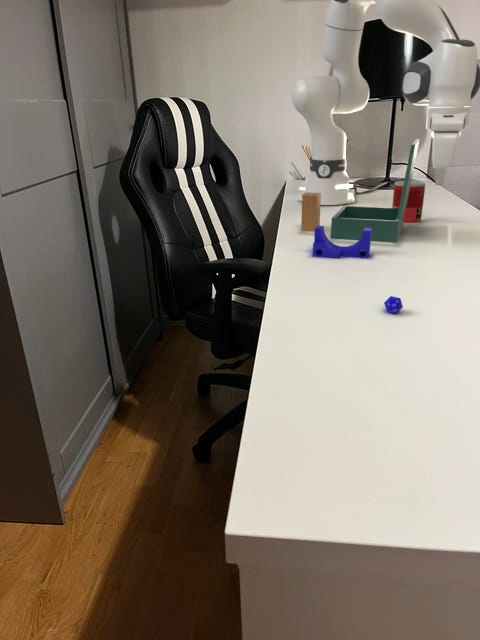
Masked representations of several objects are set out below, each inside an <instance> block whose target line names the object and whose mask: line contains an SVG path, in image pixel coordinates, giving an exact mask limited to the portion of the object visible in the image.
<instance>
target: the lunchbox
mask: <svg viewBox="0 0 480 640" xmlns="http://www.w3.org/2000/svg"><path fill="white" fill-rule="evenodd" d="M398 212H399V208H392V207H387V206H365V205H362V206H361V205H343V206H342V207H341V208H340V209H339V210H338V211H337V213H335V214H334V215H333V216H332V217H331V222H330V223H331V226H330V239H331V240H345V241H347V240H348V241H359V240H360V239H361V237H362V235H363V231H364V228H372V231H371V242H375V243H379V242H380V243H392V244H397V242H398V240H399V237H400V235H401V233H402V230H403V226H404V223H403V217H404V213H403V216H402V218H401V220H400V219H397V217H398Z"/></svg>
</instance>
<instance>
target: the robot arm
mask: <svg viewBox="0 0 480 640" xmlns="http://www.w3.org/2000/svg"><path fill="white" fill-rule="evenodd" d="M372 5H375V8H376V11H377V14H378V17H379V18H380V20H381V21H382V23H383V24H384V25H385V26H386V27H387V28H389V29H390V30H392V31H395V32H397V33H398V32H399V33H402V34H407V35H409V36H413V37H416V38H418V39H420V40H423V41H424V42H425V43H427V44H428V45H429V46H430V48H431V49H432V51H431V52H430V53H429V54H427V55H426V56H425V57H423V58H421V59H419V60H417V61H413V62H412V63H411V64H409V66H408V67H407V68H406V70H405V72H404V74H403V76H402V80H401V92H402V96H403V98H404V99H405V101H406V102H407V103H408V104H410V105H414V106H428V108H427V116H426V124H425V129H426V131H427V130H428V131H430V132H431V133H430V138H432V168H433V169H436V170H435V183H434V184H435V186H443V185H444V184H445V177H446V173H447V170H450V169H451V168H452V165H453V162H454V158H455V154H456V149H457V145H458V142H459V138H461V137H462V132H464V130H468V129H469V125H470V118H471V117H470V116H471V112H472V111H471V110H472V100H473V99H474V97H476V95H477V94H478V92H479V90H480V65H479V63H478V48H477V44H476V43H475V42H474V41H472V40H470V39H464V38H463V39H460V37H459V34H458V33H457V31H456V29H455V27H454V25H453V23H452V21H451V20H450V18H449V16H448V15H447V13H446V12H445V10H443V8H442V7H441V6H440V5H439V4H438V3H437V2H436V1H435V0H330V3H329V6H328V10H327V15H326V19H325V23H324V29H323V36H322V42H321V47H320V50H321V55H322V57H323V59H324V60H325V61H326V62H328V64H330V65H331V66H332V75H321V76H319V75H317V76H316V75H315V76H314V75H313V76H309V77H306V78H305V77H304V78H302V79H298V81H296V83H295V85H294V86H293V89H292V92H291V101H292V105H293V107H294V109H295V110H296V111H297V112H298V113H299V114H300V115H301V116H302V117H303V118H304V120H305V121H306V123H307V126H308V128H309V132H310V136H311V158H310V160H309V161H310V162H309V171H310V172H309V174H307V175H306V176H305V179H304V187H299V190H301V191H302V190H303V191H304V193H306V192H309V193H321V204H320V206H339V205H345V204H354V203H355V196H354V194H356V195H363V194H367V193H370V192H373V191H375V190H378V189H379V188H381V187H384V186H385V185H388V184H387V183H388V182H389V184H393V183H395V182H396V181H402V180H405V178H399V179H394V180H389V181H386V182H383V183H381V184H378V185H377V186H375V187H373V188H370V189H367V190H365V191H360V192H359V191H358V187H357V185H356V184H357V182H356V180H355V181H354V180H350V177H349V175H348V174H347V171H346V170H347V164H348V162H347V158H346V152H347V150H346V149H347V135H346V131H344V129H342V128H341V127H339V126H338V125H336V124H335V122H334V118H333V114H335V115H336V114H351V113H355V112H358V111H362V110H363V109H364V108H365V107H366V105H367V104H368V101H369V100H370V87H369V84H368V82H367V80H366V79H365V78H364V77H363V75H362V73H361V70H360V66H359V53H360V47H361V42H362V41H361V40H362V35H363V31H364V26H365V21H366V14H367V11H368V9H369V8H370V7H371V6H372ZM352 190H354V193H352ZM304 193H303V194H304ZM299 202H302V196H301V197H299Z"/></svg>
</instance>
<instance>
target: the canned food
mask: <svg viewBox="0 0 480 640" xmlns="http://www.w3.org/2000/svg"><path fill="white" fill-rule="evenodd" d="M403 185H404V180H402V181H396V182H394V185H393V186H394V187H393V196H392V197H393V198H392V207H391V208H399V206H400V201H401V196H402V191H403ZM425 191H426V182H425V181H422V180H415V179H414V180H413V179H412V180H411V185H410V190H409V195H408V200H407V205H406V208H405V211H404V217H403V224H404V223H406V224H407V223H408V224H413V223H415V224H416V223H419V222H422V216H423V208H424V199H425V193H426V192H425Z"/></svg>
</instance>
